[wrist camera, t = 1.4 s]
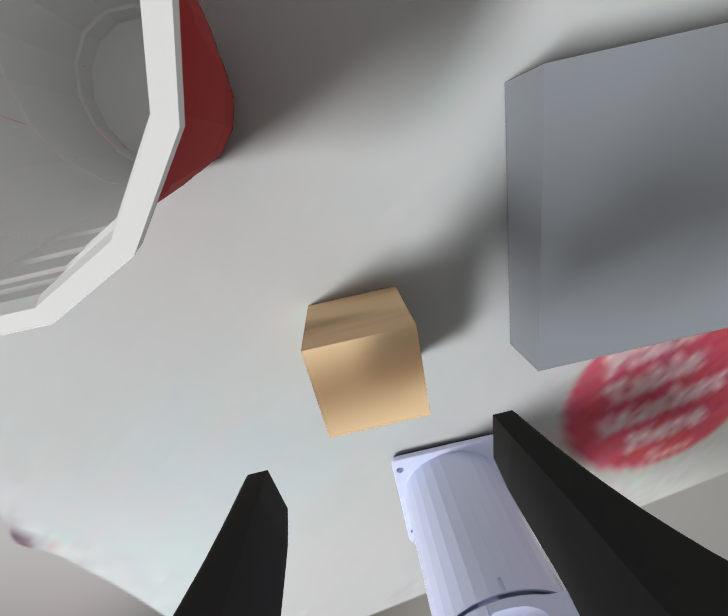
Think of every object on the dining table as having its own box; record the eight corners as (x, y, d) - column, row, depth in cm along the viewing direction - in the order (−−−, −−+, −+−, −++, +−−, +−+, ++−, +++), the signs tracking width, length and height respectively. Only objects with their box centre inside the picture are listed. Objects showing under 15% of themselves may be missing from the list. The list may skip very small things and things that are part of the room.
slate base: (726, 294, 21) (787, 314, 18) (510, 343, 20) (538, 371, 18) (803, 15, 15) (910, -19, 12) (504, 82, 15) (544, 63, 12)
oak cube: (408, 359, 20) (430, 415, 16) (329, 376, 20) (329, 437, 16) (395, 285, 18) (416, 325, 14) (308, 305, 18) (300, 351, 14)
